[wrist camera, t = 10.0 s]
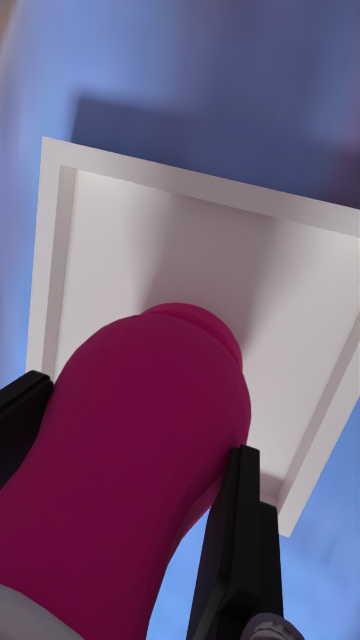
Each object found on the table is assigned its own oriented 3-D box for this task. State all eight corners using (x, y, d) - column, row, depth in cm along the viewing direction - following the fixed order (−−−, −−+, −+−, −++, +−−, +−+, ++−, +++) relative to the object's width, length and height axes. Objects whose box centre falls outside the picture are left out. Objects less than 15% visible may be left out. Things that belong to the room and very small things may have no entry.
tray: (416, 227, 14) (442, 228, 12) (285, 505, 20) (289, 537, 18) (69, 146, 17) (42, 136, 15) (42, 414, 22) (21, 434, 20)
